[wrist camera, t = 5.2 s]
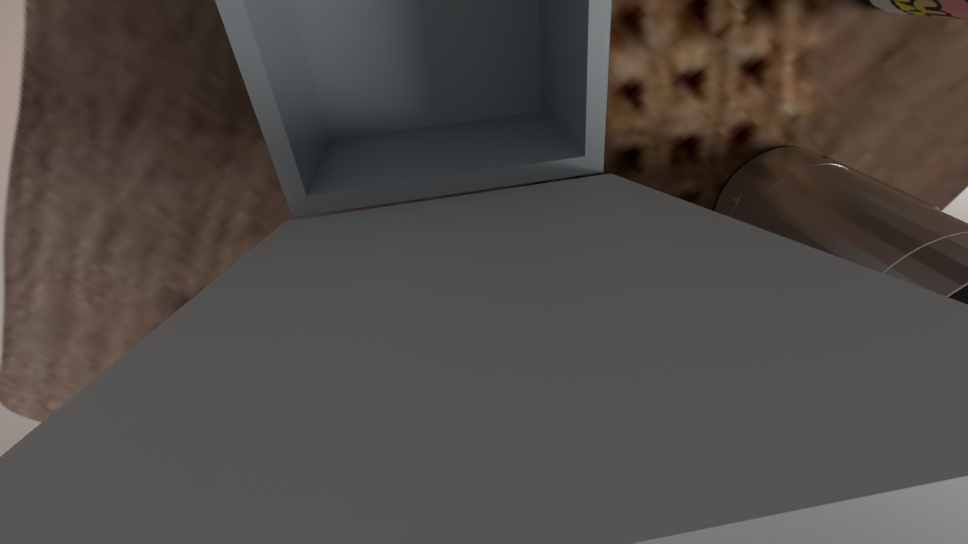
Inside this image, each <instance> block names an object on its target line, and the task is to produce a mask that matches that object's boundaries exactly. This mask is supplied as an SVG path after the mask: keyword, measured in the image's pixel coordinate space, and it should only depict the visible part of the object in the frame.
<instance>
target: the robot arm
mask: <svg viewBox="0 0 968 544" xmlns="http://www.w3.org/2000/svg"><path fill="white" fill-rule="evenodd" d="M715 212H717V213H720V214H723V215H725V216H728V217H731V218H734V219H736V220H739V221H742V222H745V223H747V224H750V225H753V226H755V227H758V228H761V229H764V230H766V231H769V232H772V233H774V234H777V235H780V236H783V237H785V238H788V239H791V240H793V241H796V242H799V243H802V244H804V245H807V246H810V247H812V248H815V249H818V250H821V251H823V252H826V253H829V254H832V255H834V256H837V257H840V258H842V259H845V260H848V261H851V262H853V263H856V264H859V265H861V266H864V267H867V268H870V269H872V270H875V271H878V272H880V273H883V274H886V275H889V276H891V277H894V278H897V279H899V280H902V281H905V282H908V283H910V284H913V285H916V286H919V287H921V288H924V289H927V290H929V291H932V292H935V293H938V294H940V295H943V296H946V297H948V298H951V299H954V300H957V301H959V302H962V303H965V304H967V305H968V223H966V222H963V221H961V220H959V219H957V218H954V217H952V216H950V215H948V214H946V213H944V212H941V211H940V209H939V208H938V207H937V206H936V205H934V204H931V203H929V202H927V201H925V200H922V199H920V198H918V197H916V196H914V195H911V194H909V193H907V192H905V191H902V190H900V189H898V188H896V187H893V186H891V185H889V184H887V183H884V182H882V181H880V180H878V179H876V178H873V177H871V176H869V175H867V174H864V173H862V172H860V171H858V170H855V169H853V168H851V167H849V166H846V165H844V164H842V163H840V162H838V161H835V160H833V159H831V158H823V157H821V156H819V155H816V154H814V153H812V152H810V151H807V150H805V149H802V148H800V147H789V146H788V147H781V148H776V149H773V150H770V151H767V152H764V153H762V154H760V155H758V156H757V157H755V158H753V159H751V160H750V161H749V162H747V163H746V164H745V165H743V166H742V167H741V168H740V169H739V170H738V171H737V172H736V173H735V174H734V175H733V176H732V177H731V179H730V180H729V181H728V183H727V184H726V185H725V187H724V188H723V190H722V192H721V194H720V196H719V198H718V201H717V204H716V208H715Z"/></svg>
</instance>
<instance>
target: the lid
mask: <svg viewBox="0 0 968 544" xmlns="http://www.w3.org/2000/svg"><path fill="white" fill-rule="evenodd" d="M0 544H968V305H967V304H965V303H962V302H959V301H957V300H954V299H951V298H948V297H946V296H943V295H940V294H938V293H935V292H932V291H929V290H927V289H924V288H921V287H919V286H916V285H913V284H910V283H908V282H905V281H902V280H899V279H897V278H894V277H891V276H889V275H886V274H883V273H880V272H878V271H875V270H872V269H870V268H867V267H864V266H861V265H859V264H856V263H853V262H851V261H848V260H845V259H842V258H840V257H837V256H834V255H832V254H829V253H826V252H823V251H821V250H818V249H815V248H812V247H810V246H807V245H804V244H802V243H799V242H796V241H793V240H791V239H788V238H785V237H783V236H780V235H777V234H774V233H772V232H769V231H766V230H764V229H761V228H758V227H755V226H753V225H750V224H747V223H745V222H742V221H739V220H736V219H734V218H731V217H728V216H725V215H723V214H720V213H717V212H715V211H712V210H709V209H706V208H704V207H701V206H698V205H696V204H693V203H690V202H687V201H685V200H682V199H679V198H677V197H674V196H671V195H668V194H666V193H663V192H660V191H658V190H655V189H652V188H649V187H647V186H644V185H641V184H638V183H636V182H633V181H630V180H628V179H625V178H622V177H619V176H617V175H614V174H611V173H610V174H603V175H597V176H590V177H583V178H576V179H569V180H563V181H556V182H549V183H542V184H535V185H529V186H522V187H515V188H508V189H501V190H495V191H488V192H481V193H474V194H467V195H461V196H454V197H447V198H440V199H433V200H427V201H420V202H413V203H406V204H399V205H393V206H386V207H379V208H372V209H365V210H359V211H352V212H345V213H338V214H331V215H325V216H318V217H311V218H304V219H297V220H291V221H285V222H284V223H282V224H281V225H280V226H279V227H278V228H276V229H275V230H274V231H273V232H272V233H270V234H269V235H268V236H267V237H265V238H264V239H263V240H262V241H261V242H259V243H258V244H257V245H256V246H255V247H253V248H252V249H251V250H250V251H249V252H247V253H246V254H245V255H244V256H243V257H241V258H240V259H239V260H238V261H236V262H235V263H234V264H233V265H232V266H230V267H229V268H228V269H227V270H226V271H224V272H223V273H222V274H221V275H220V276H218V277H217V278H216V279H215V280H214V281H212V282H211V283H210V284H209V285H207V286H206V287H205V288H204V289H203V290H201V291H200V292H199V293H198V294H197V295H195V296H194V297H193V298H192V299H191V300H189V301H188V302H187V303H186V304H185V305H183V306H182V307H181V308H180V309H178V310H177V311H176V312H175V313H174V314H172V315H171V316H170V317H169V318H168V319H166V320H165V321H164V322H163V323H162V324H160V325H159V326H158V327H157V328H156V329H154V330H153V331H152V332H151V333H149V334H148V335H147V336H146V337H145V338H143V339H142V340H141V341H140V342H139V343H137V344H136V345H135V346H134V347H133V348H131V349H130V350H129V351H128V352H127V353H125V354H124V355H123V356H122V357H120V358H119V359H118V360H117V361H116V362H114V363H113V364H112V365H111V366H110V367H108V368H107V369H106V370H105V371H104V372H102V373H101V374H100V375H99V376H98V377H96V378H95V379H94V380H93V381H91V382H90V383H89V384H88V385H87V386H85V387H84V388H83V389H82V390H81V391H79V392H78V393H77V394H76V395H75V396H73V397H72V398H71V399H70V400H69V401H67V402H66V403H65V404H64V405H62V406H61V407H60V408H59V409H58V410H56V411H55V412H54V413H53V414H52V415H50V416H49V417H48V418H47V419H46V420H44V421H43V422H42V423H41V424H40V425H39V426H37V427H36V428H35V429H34V430H33V431H31V432H30V433H29V434H27V435H26V436H25V437H24V438H23V439H22V440H20V441H19V442H18V443H17V444H15V445H14V446H13V447H12V448H11V449H9V450H8V451H7V452H6V453H5V454H3V455H2V456H1V457H0Z"/></svg>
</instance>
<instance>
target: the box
mask: <svg viewBox="0 0 968 544" xmlns="http://www.w3.org/2000/svg"><path fill="white" fill-rule="evenodd" d="M611 1H612V0H215V2H216V4H217V7H218V10H219V13H220V16H221V19H222V21H223V24H224V27H225V30H226V33H227V35H228V38H229V41H230V44H231V47H232V49H233V52H234V55H235V58H236V61H237V63H238V66H239V69H240V72H241V75H242V78H243V80H244V83H245V86H246V89H247V92H248V94H249V97H250V100H251V103H252V106H253V108H254V111H255V114H256V117H257V120H258V122H259V125H260V128H261V131H262V134H263V137H264V139H265V142H266V145H267V148H268V151H269V153H270V156H271V159H272V162H273V165H274V167H275V170H276V173H277V176H278V179H279V181H280V184H281V187H282V190H283V193H284V196H285V198H286V201H287V204H288V207H289V210H290V212H291V215H292V218H294V217H301V216H308V215H314V214H321V213H328V212H335V211H342V210H349V209H355V208H362V207H369V206H376V205H383V204H389V203H396V202H403V201H410V200H417V199H423V198H430V197H437V196H444V195H451V194H458V193H464V192H471V191H478V190H485V189H492V188H498V187H505V186H512V185H519V184H526V183H533V182H539V181H546V180H553V179H560V178H567V177H573V176H580V175H587V174H594V173H601V172H603V168H604V147H605V126H606V106H607V85H608V64H609V43H610V22H611Z"/></svg>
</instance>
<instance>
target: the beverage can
mask: <svg viewBox="0 0 968 544" xmlns="http://www.w3.org/2000/svg"><path fill="white" fill-rule="evenodd" d="M869 1H870V3H871V4H872V5H874V6H876V7H878V8H880V9H882V10H884V11H886V12H892V13H903V14H914V15H924V16H935V17H946V18H957V19H967V20H968V0H869Z"/></svg>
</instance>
